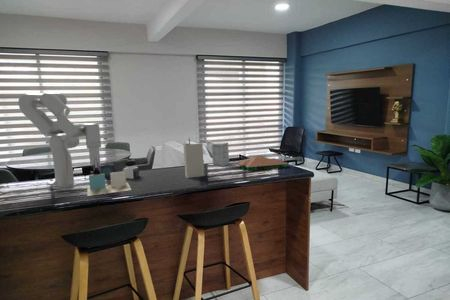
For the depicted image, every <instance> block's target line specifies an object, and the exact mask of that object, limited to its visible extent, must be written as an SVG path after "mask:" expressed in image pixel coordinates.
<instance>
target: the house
mask: <svg viewBox="0 0 450 300" xmlns="http://www.w3.org/2000/svg"><path fill="white" fill-rule="evenodd" d="M237 164H238V165H239V166H240V168H242V170H244V171H245V169H246V171H248V172H249V171H250V168H251V169H253V170H255V171H258V168H260V167H265V170H266V169H267V170H268V169H269V167H271V166H273V167H275V168H278V169H280V168H281V166H283V165H285V167H288V164H289V163H288V162H286V161H283V160H280V159H277V158H270V157H269V158H268V157H265V156H263V155H258V156H252V157H249V158H246V159H242V160H238V161H237Z"/></svg>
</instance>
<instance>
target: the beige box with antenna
mask: <svg viewBox="0 0 450 300" xmlns="http://www.w3.org/2000/svg"><path fill="white" fill-rule="evenodd" d="M182 146H183V161H184V176H185V178H187V179H188V178H189V179H190V178H198V177H205V161H204V149H203V146H204V145H203V142H198V143H191V139H190V138H188V143H185V142H184V143H183V145H182Z"/></svg>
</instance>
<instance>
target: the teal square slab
mask: <svg viewBox="0 0 450 300" xmlns="http://www.w3.org/2000/svg"><path fill="white" fill-rule="evenodd" d="M88 181H89V188H90V190H94V189H102V188H106V185H107V184H106V179H105V174H95V175H94V174H89V175H88Z"/></svg>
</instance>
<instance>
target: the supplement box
mask: <svg viewBox="0 0 450 300" xmlns="http://www.w3.org/2000/svg"><path fill="white" fill-rule="evenodd" d="M211 151H212V152H211V153H212V166H215V167H225V166H228V165H230V156H229V155H230V153H229V152H230V151H229V142H219V141H218V142H214V143H211Z"/></svg>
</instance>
